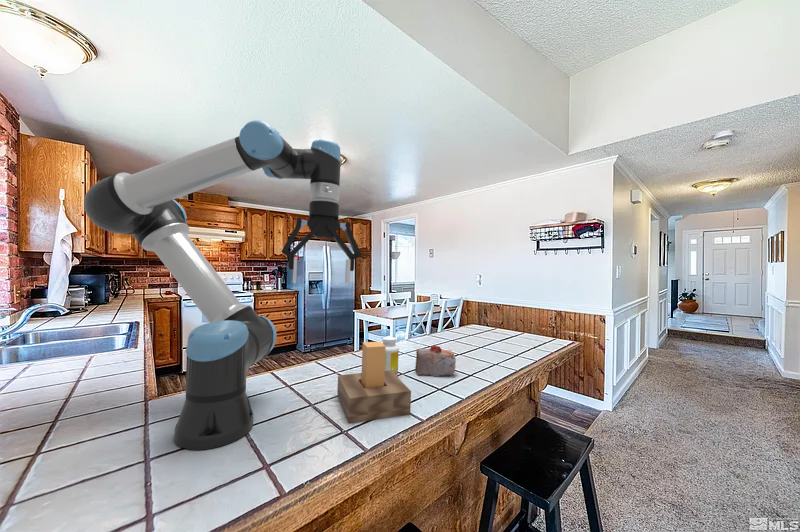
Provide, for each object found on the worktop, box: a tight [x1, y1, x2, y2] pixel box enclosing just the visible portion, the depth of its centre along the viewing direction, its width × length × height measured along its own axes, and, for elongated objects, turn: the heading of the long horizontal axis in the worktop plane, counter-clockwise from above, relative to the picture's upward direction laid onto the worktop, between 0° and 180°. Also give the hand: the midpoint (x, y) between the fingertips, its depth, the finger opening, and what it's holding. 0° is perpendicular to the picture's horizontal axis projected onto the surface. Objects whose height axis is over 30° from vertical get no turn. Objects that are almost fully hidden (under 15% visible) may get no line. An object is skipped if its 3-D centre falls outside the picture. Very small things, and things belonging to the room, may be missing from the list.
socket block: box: [336, 370, 412, 424], centre depth 87 cm, size 16×16×6 cm
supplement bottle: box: [381, 336, 400, 377], centre depth 109 cm, size 7×7×13 cm
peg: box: [361, 341, 386, 389], centre depth 86 cm, size 5×5×15 cm
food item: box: [414, 345, 457, 377], centre depth 113 cm, size 14×8×10 cm, turn 93°
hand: (321, 283), depth 84 cm, fingers open, 13 cm apart
